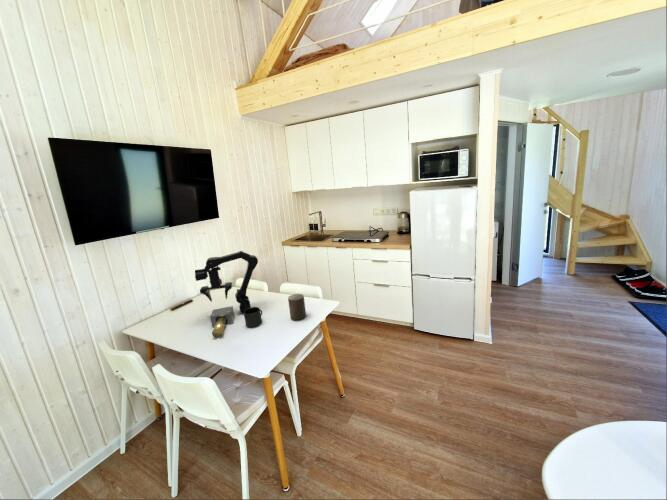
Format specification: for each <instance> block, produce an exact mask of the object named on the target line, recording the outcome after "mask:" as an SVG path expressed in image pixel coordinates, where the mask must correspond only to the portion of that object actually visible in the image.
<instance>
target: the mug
mask: <svg viewBox="0 0 667 500" xmlns="http://www.w3.org/2000/svg"><path fill="white" fill-rule="evenodd" d="M262 315H263V310H262V309H261V308H259V307H256V306H253V307H252V306H251V308H248V309H246V310H245V311H244V314H243V316H244V322H245V327H246V328H247V329H248V328H249V329H253V328H257V327H259V326H261V325H262V322H263V320H262Z"/></svg>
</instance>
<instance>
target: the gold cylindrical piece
mask: <svg viewBox="0 0 667 500" xmlns="http://www.w3.org/2000/svg"><path fill="white" fill-rule="evenodd" d="M225 324H226V319H225V318H219V319H218V320H217V322H216V325H215V327H214V328H213V329H212V331H211V335H212V336H213V338H217V339H218V338H221V337H222V336H224V335H223V334H224V330H225V327H226V325H225Z"/></svg>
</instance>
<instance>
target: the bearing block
mask: <svg viewBox="0 0 667 500" xmlns="http://www.w3.org/2000/svg"><path fill="white" fill-rule="evenodd" d="M210 313H211V314H210V316H209V319H210V323H211V327H212V328H213V329H214V327H215V325H216V322H217V320H218V319H219V318H225V319H226V324H225V326H229V325H233V324H234V321H235V318H236V317H235V316H236V315H235V310H234V306H227V307H222V308H215V309H213V310H212V311H211V312H210Z"/></svg>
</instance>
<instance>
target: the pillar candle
mask: <svg viewBox="0 0 667 500" xmlns="http://www.w3.org/2000/svg"><path fill="white" fill-rule="evenodd" d="M287 300H288V307H289V315H290V319H291V320H292V321H294V322H298V321H303V320H305V319H306V318H307V313H306V312H307V311H306V304H305V303H306V301H305V296H304V294H303V293H294V294H291V295H289V296H288V297H287Z"/></svg>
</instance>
